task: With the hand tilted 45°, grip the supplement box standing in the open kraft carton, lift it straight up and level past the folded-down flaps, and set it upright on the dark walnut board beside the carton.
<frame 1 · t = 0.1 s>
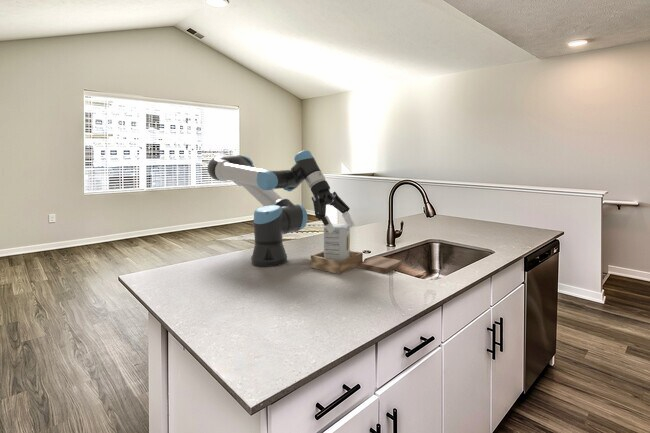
hand: (342, 229, 153), 15 cm above the worktop, tool tilted 35°, fingers open, 13 cm apart
carton: (337, 266, 155), on the worktop
supplement box: (337, 266, 155), resting in carton, touching gripper
walnut board: (380, 266, 154), on the worktop
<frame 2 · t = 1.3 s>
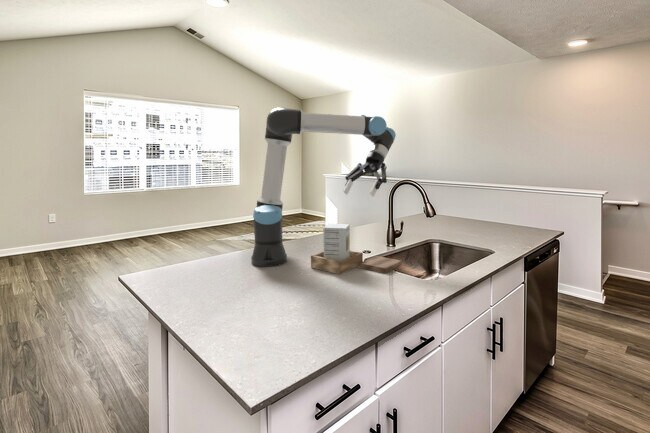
hand: (358, 193, 162), 28 cm above the worktop, tool tilted 45°, fingers open, 13 cm apart
supplement box: (336, 266, 155), resting in carton
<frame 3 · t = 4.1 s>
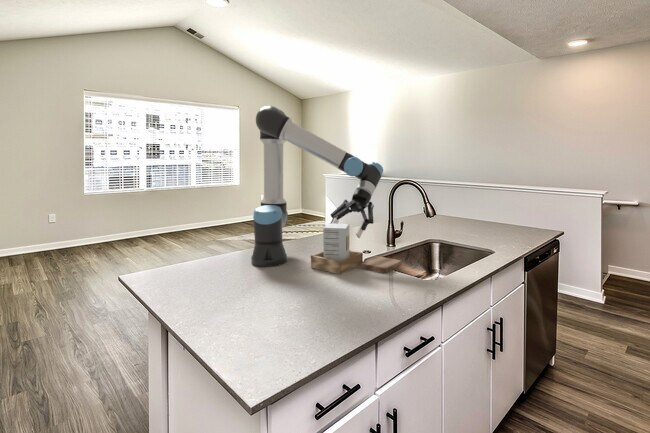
hand: (343, 234, 155), 13 cm above the worktop, tool tilted 45°, fingers open, 13 cm apart
supplement box: (336, 266, 155), resting in carton, touching gripper
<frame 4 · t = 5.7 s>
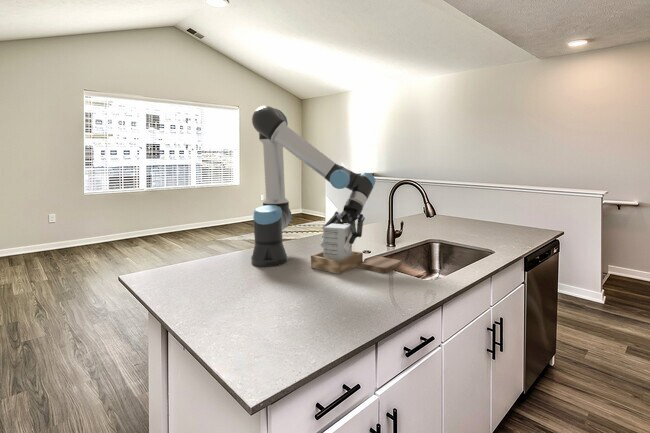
hand: (333, 247, 152), 8 cm above the worktop, tool tilted 45°, fingers closed on supplement box, 11 cm apart
supplement box: (337, 266, 155), resting in carton, touching gripper
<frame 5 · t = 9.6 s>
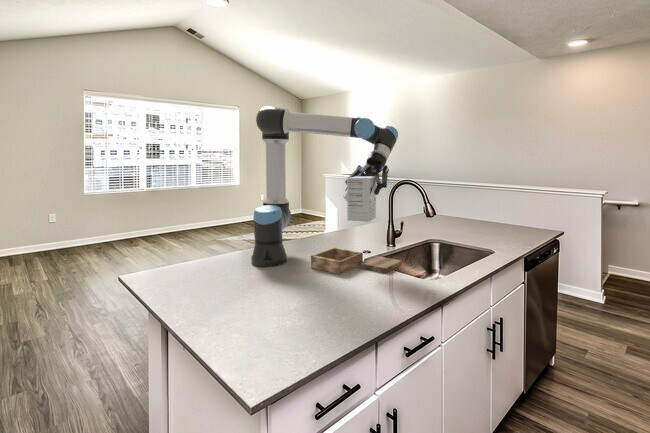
hand: (357, 199, 148), 28 cm above the worktop, tool tilted 45°, fingers closed on supplement box, 11 cm apart
supplement box: (361, 219, 151), point 19 cm above the worktop, touching gripper
when the fingers open (12 cm above the worktop, at t = 13.6 s): supplement box drops 1 cm, resting on walnut board.
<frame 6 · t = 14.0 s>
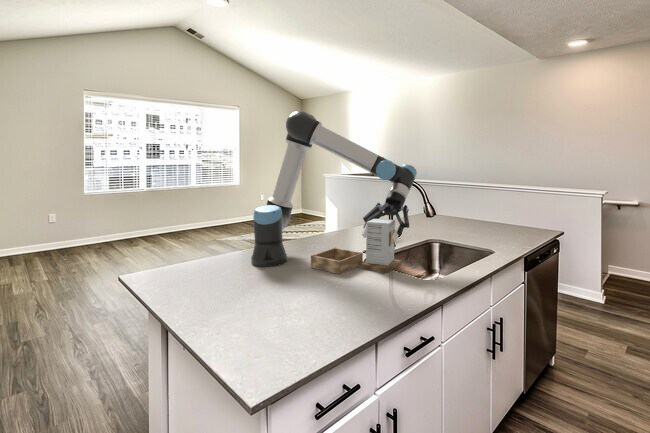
hand: (378, 238, 150), 12 cm above the worktop, tool tilted 45°, fingers open, 13 cm apart
supplement box: (380, 262, 154), point 2 cm above the worktop, touching walnut board
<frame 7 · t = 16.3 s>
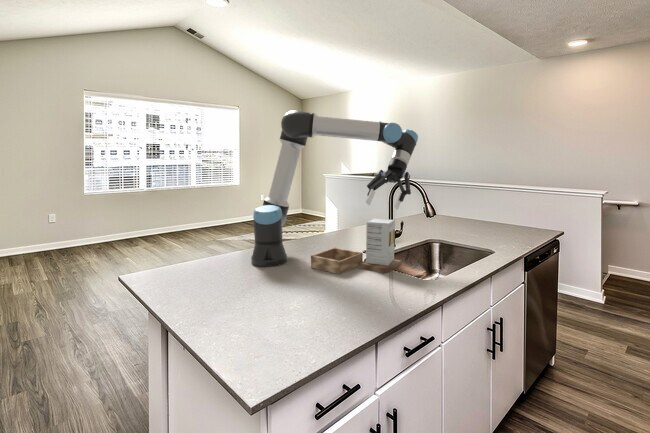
hand: (381, 205, 158), 24 cm above the worktop, tool tilted 35°, fingers open, 13 cm apart
nothing on the worktop moved.
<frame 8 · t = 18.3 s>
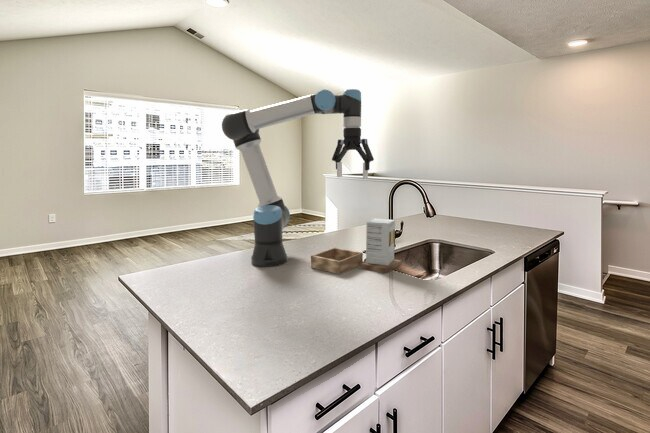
hand: (352, 177, 166), 35 cm above the worktop, tool pointing down, fingers open, 13 cm apart
nothing on the worktop moved.
at the end: supplement box inside the target area on the walnut board (0.4 cm from its centre), point 1.8 cm above the walnut board's base; supplement box tilted 0°; the gripper is holding nothing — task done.
